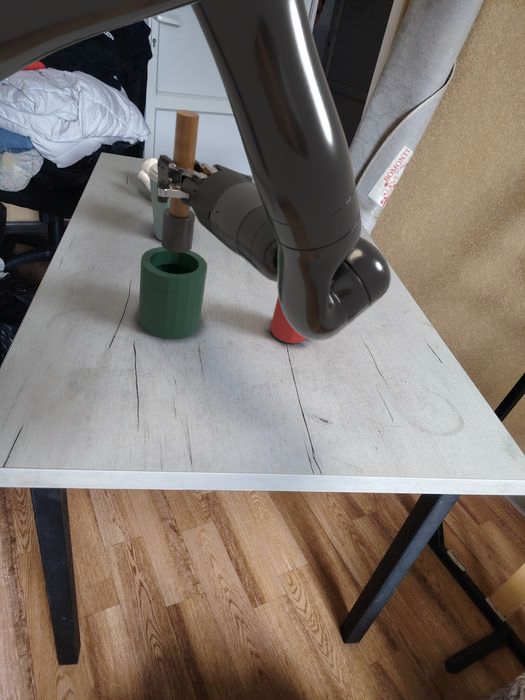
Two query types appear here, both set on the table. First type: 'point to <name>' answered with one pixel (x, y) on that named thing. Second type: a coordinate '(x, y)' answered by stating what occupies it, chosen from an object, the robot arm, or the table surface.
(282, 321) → the beer can
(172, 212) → the brown and grey cylinder
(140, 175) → the figure
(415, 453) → the table surface
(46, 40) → the robot arm
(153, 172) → the disposable coffee cup
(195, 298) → the green cup
